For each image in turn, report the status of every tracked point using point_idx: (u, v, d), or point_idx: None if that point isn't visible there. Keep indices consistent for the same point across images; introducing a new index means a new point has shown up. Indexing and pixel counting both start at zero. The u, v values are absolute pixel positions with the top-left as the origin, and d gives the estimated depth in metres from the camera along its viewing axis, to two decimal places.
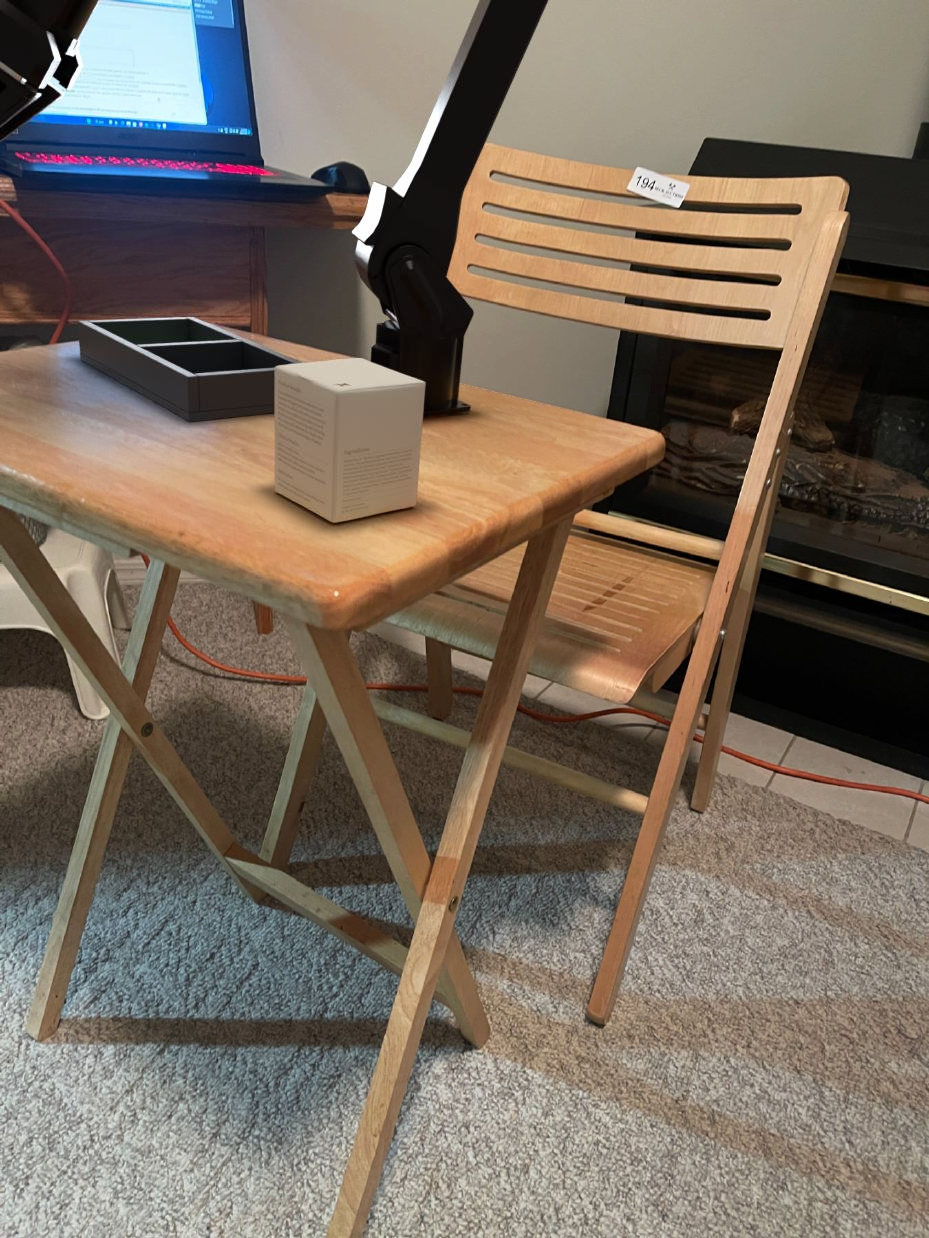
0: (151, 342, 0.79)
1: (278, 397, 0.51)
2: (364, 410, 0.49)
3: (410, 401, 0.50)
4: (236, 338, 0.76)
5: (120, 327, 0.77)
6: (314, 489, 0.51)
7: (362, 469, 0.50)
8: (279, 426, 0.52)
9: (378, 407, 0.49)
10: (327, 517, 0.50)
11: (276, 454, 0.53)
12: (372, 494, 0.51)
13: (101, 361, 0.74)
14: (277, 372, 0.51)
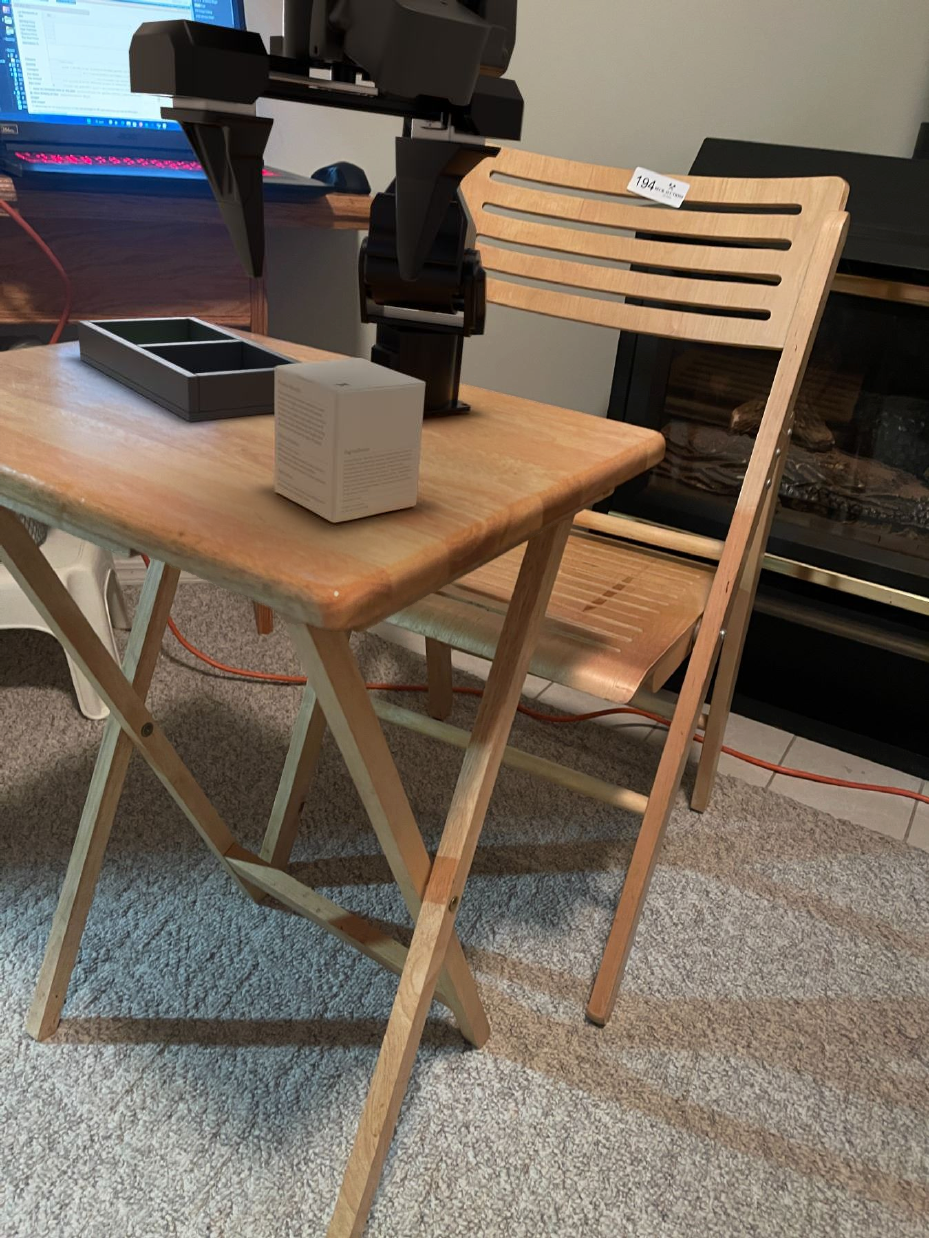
0: (151, 342, 0.79)
1: (278, 397, 0.51)
2: (364, 410, 0.49)
3: (410, 401, 0.50)
4: (236, 338, 0.76)
5: (120, 327, 0.77)
6: (314, 489, 0.51)
7: (362, 469, 0.50)
8: (279, 426, 0.52)
9: (378, 407, 0.49)
10: (327, 517, 0.50)
11: (276, 454, 0.53)
12: (372, 494, 0.51)
13: (101, 361, 0.74)
14: (277, 372, 0.51)
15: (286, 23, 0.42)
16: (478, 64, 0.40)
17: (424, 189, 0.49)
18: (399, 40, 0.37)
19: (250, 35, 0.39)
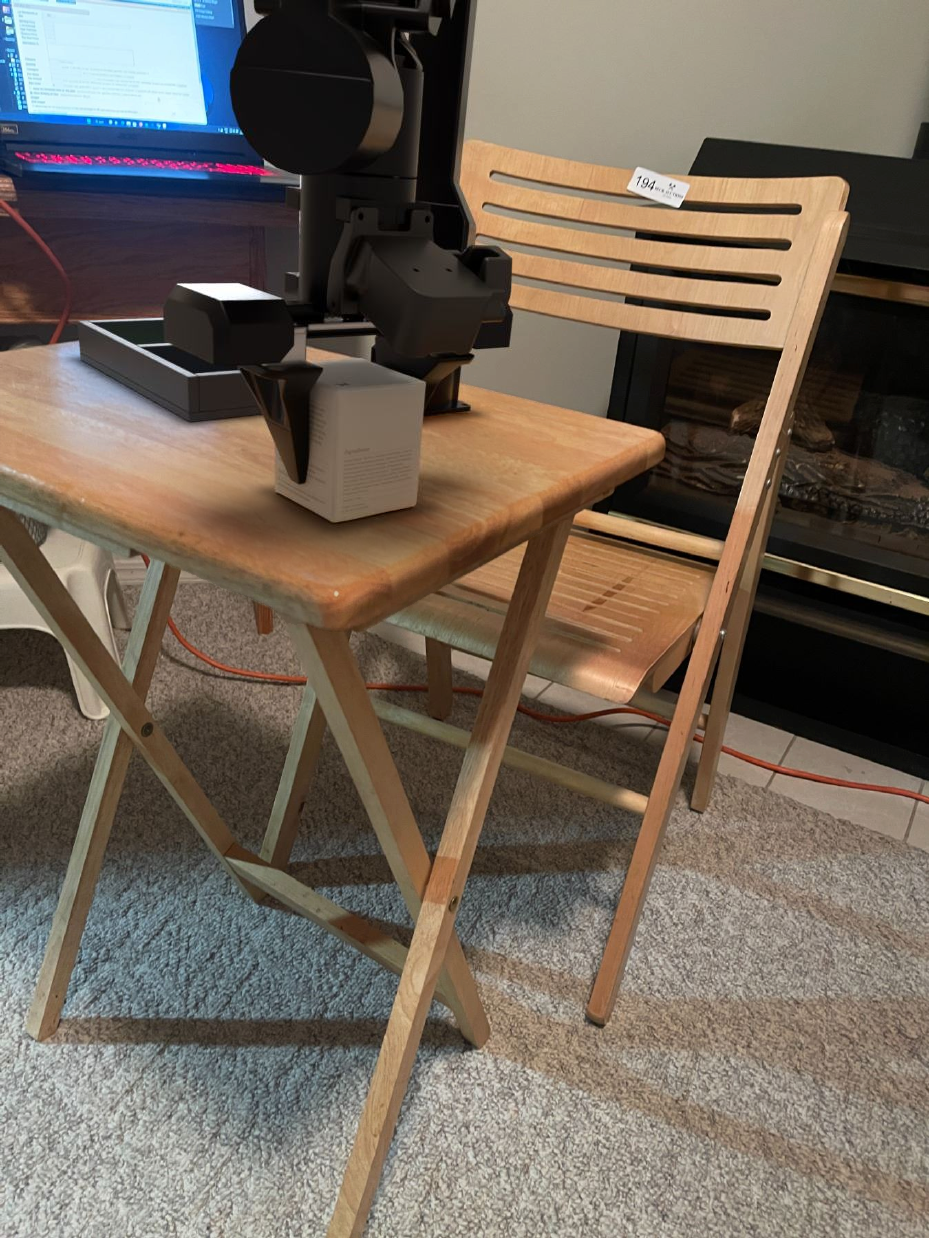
0: (151, 342, 0.79)
1: None
2: (364, 410, 0.49)
3: (410, 401, 0.50)
4: None
5: (120, 327, 0.77)
6: (314, 489, 0.51)
7: (362, 469, 0.50)
8: None
9: (379, 407, 0.49)
10: (327, 517, 0.50)
11: (276, 454, 0.53)
12: (372, 494, 0.51)
13: (101, 361, 0.74)
14: None
15: (303, 271, 0.47)
16: (480, 322, 0.45)
17: None
18: (413, 318, 0.42)
19: (277, 303, 0.44)
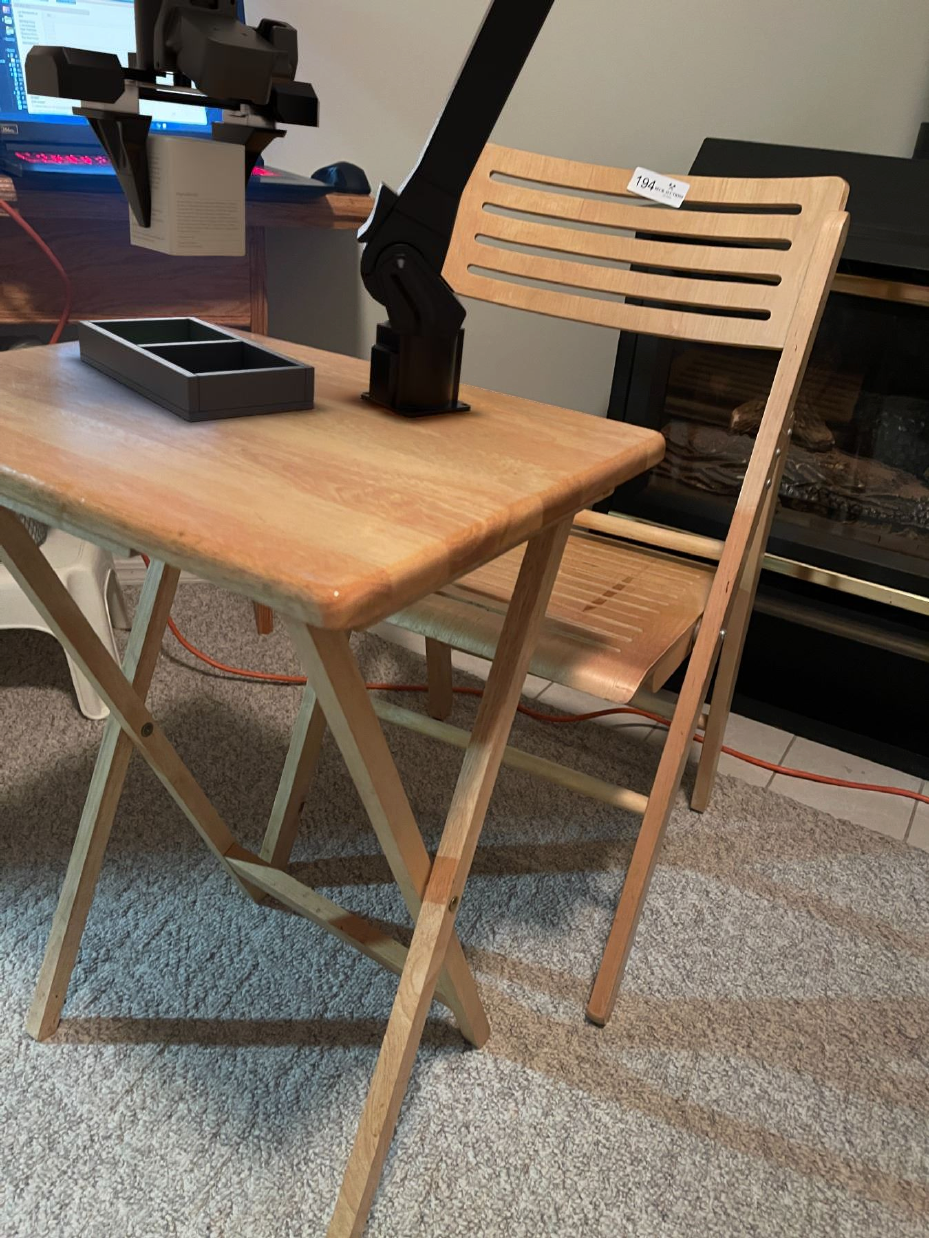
0: (151, 342, 0.79)
1: None
2: (191, 159, 0.62)
3: (232, 160, 0.64)
4: (236, 338, 0.76)
5: (120, 327, 0.77)
6: (156, 230, 0.64)
7: (193, 212, 0.63)
8: None
9: (204, 159, 0.63)
10: (166, 251, 0.64)
11: (130, 210, 0.66)
12: (204, 236, 0.65)
13: (101, 361, 0.74)
14: None
15: (137, 45, 0.60)
16: (270, 76, 0.58)
17: None
18: (211, 62, 0.56)
19: (110, 56, 0.57)
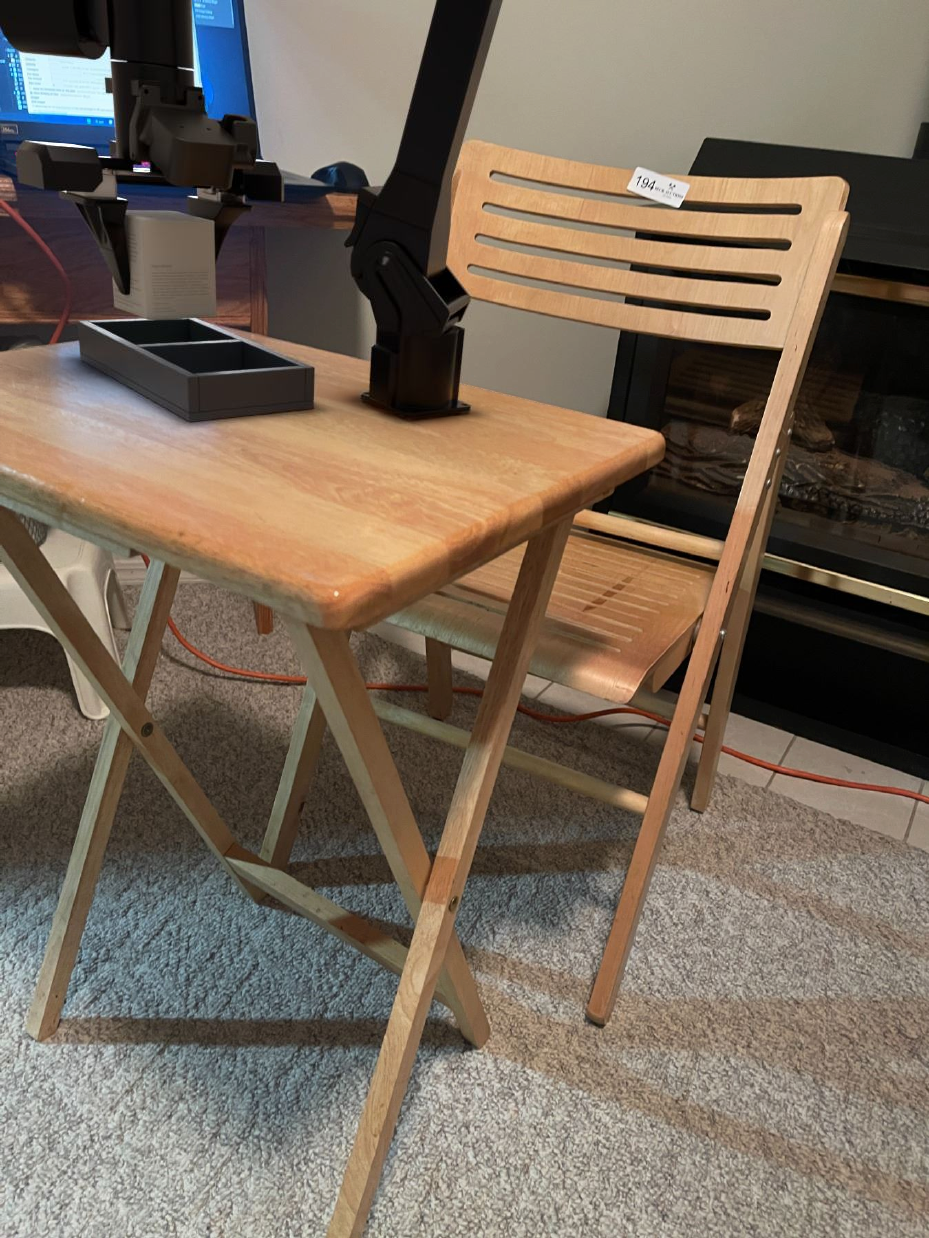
0: (151, 342, 0.79)
1: None
2: (164, 236, 0.69)
3: (202, 234, 0.71)
4: (236, 338, 0.76)
5: (120, 327, 0.77)
6: (135, 297, 0.71)
7: (167, 281, 0.71)
8: None
9: (176, 235, 0.70)
10: (143, 316, 0.71)
11: None
12: (177, 301, 0.72)
13: (101, 361, 0.74)
14: None
15: (116, 136, 0.68)
16: (231, 165, 0.66)
17: None
18: (177, 156, 0.63)
19: (89, 150, 0.64)
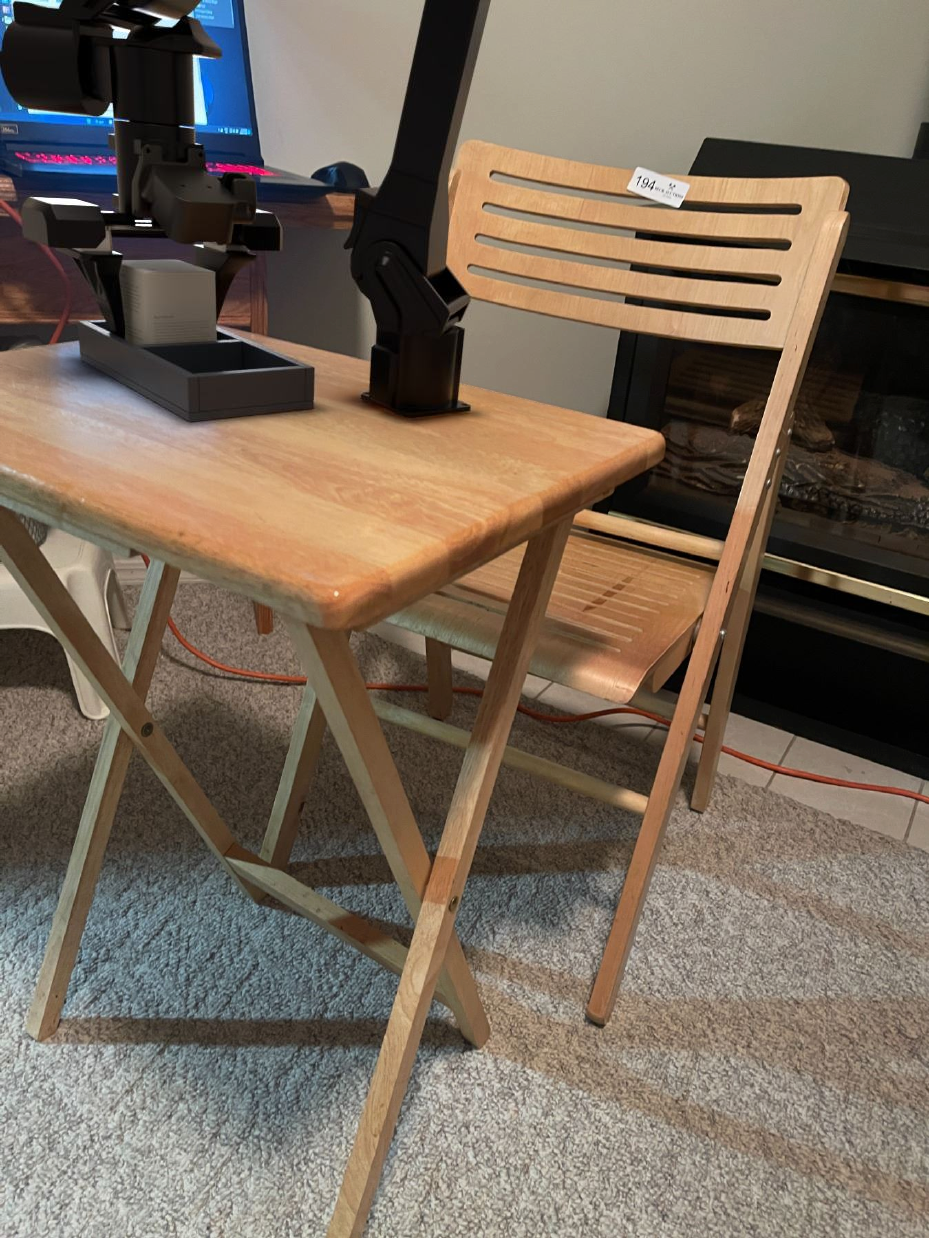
0: None
1: None
2: (166, 288, 0.71)
3: (203, 284, 0.73)
4: (236, 338, 0.76)
5: None
6: None
7: (169, 331, 0.73)
8: None
9: (178, 286, 0.72)
10: None
11: None
12: None
13: (101, 361, 0.74)
14: None
15: (119, 191, 0.69)
16: (231, 222, 0.67)
17: None
18: (178, 215, 0.65)
19: (93, 208, 0.66)
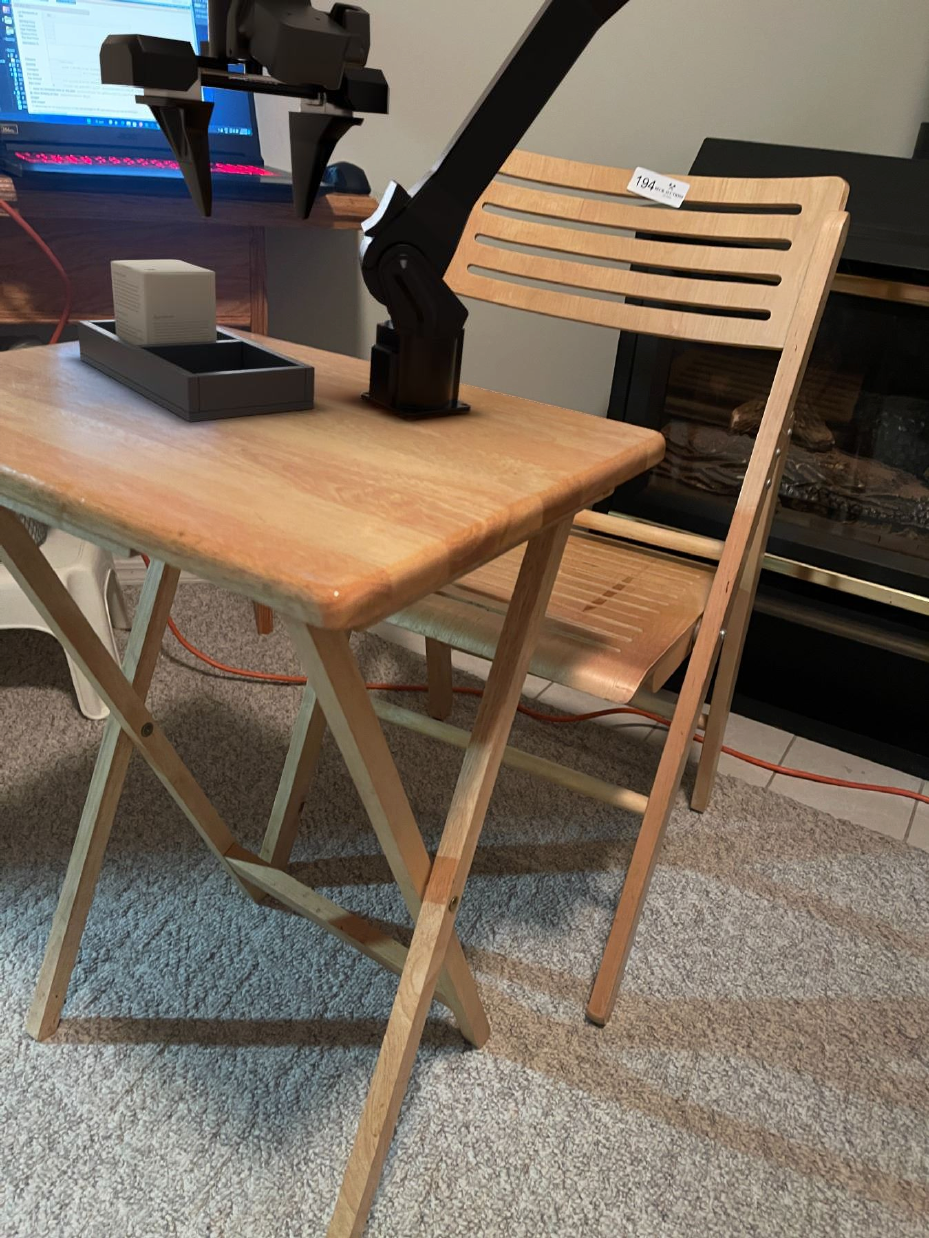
0: None
1: (114, 283, 0.74)
2: (166, 288, 0.71)
3: (203, 284, 0.73)
4: (236, 338, 0.76)
5: None
6: None
7: (169, 331, 0.73)
8: (116, 304, 0.74)
9: (178, 286, 0.72)
10: None
11: (116, 325, 0.75)
12: None
13: (101, 361, 0.74)
14: (112, 265, 0.73)
15: (210, 32, 0.60)
16: (342, 61, 0.58)
17: (309, 150, 0.66)
18: (284, 46, 0.55)
19: (184, 43, 0.57)
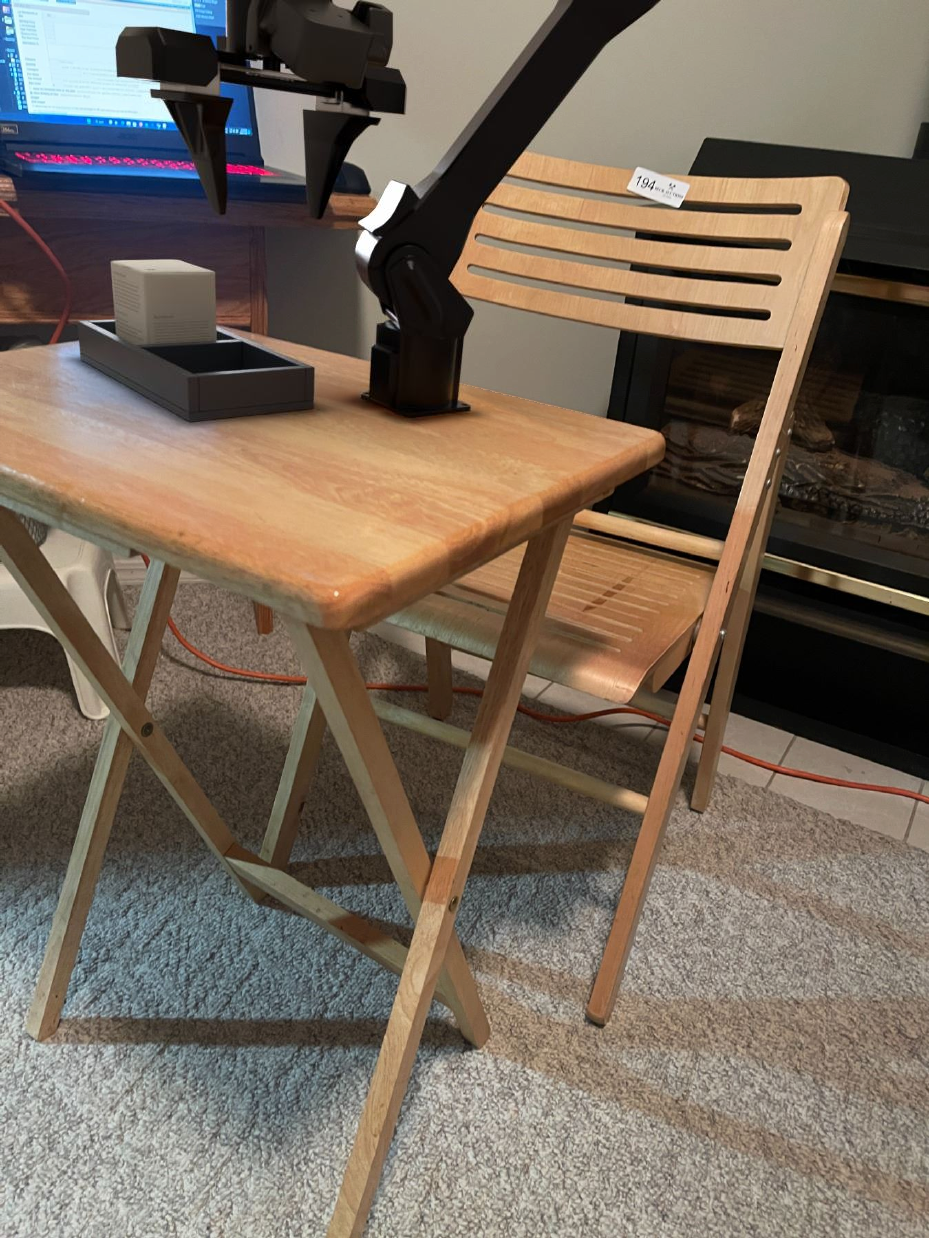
0: None
1: (114, 283, 0.74)
2: (166, 288, 0.71)
3: (203, 284, 0.73)
4: (236, 338, 0.76)
5: None
6: None
7: (169, 331, 0.73)
8: (116, 304, 0.74)
9: (178, 286, 0.72)
10: None
11: (116, 325, 0.75)
12: None
13: (101, 361, 0.74)
14: (112, 265, 0.73)
15: (228, 27, 0.59)
16: (365, 59, 0.57)
17: (325, 149, 0.65)
18: (309, 43, 0.54)
19: (204, 37, 0.56)
